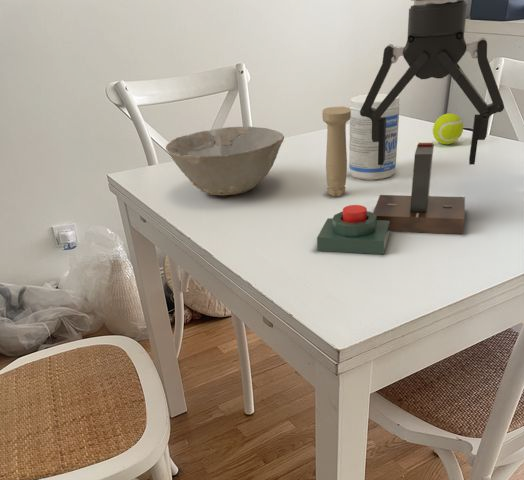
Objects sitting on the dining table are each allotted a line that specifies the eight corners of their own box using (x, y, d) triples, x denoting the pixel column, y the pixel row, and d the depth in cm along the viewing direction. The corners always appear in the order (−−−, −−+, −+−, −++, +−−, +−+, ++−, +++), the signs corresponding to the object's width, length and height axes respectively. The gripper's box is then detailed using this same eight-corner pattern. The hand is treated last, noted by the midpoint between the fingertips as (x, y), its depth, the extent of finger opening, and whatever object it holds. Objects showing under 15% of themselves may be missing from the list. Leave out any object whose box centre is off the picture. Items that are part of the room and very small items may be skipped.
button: (368, 216, 83) (368, 205, 82) (364, 224, 80) (364, 213, 79) (344, 215, 84) (345, 204, 83) (340, 223, 81) (340, 212, 80)
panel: (462, 211, 91) (464, 195, 90) (462, 234, 83) (464, 218, 82) (379, 208, 95) (379, 193, 94) (371, 230, 87) (371, 214, 86)
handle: (347, 188, 106) (348, 105, 97) (350, 198, 100) (352, 113, 92) (322, 189, 106) (321, 107, 98) (324, 200, 101) (324, 115, 92)
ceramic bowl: (307, 190, 106) (306, 137, 101) (203, 219, 98) (195, 163, 92) (252, 167, 123) (248, 120, 117) (158, 190, 114) (149, 141, 108)
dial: (426, 212, 85) (432, 152, 80) (409, 212, 86) (414, 152, 81) (428, 199, 90) (434, 142, 85) (412, 199, 91) (417, 142, 85)
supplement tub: (390, 182, 107) (395, 102, 98) (343, 180, 110) (344, 102, 102) (399, 168, 114) (404, 92, 106) (354, 166, 117) (356, 93, 109)
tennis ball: (460, 140, 128) (464, 110, 125) (462, 147, 123) (466, 116, 119) (431, 140, 130) (434, 110, 126) (431, 148, 125) (434, 117, 121)
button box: (389, 233, 86) (390, 209, 84) (383, 254, 80) (384, 229, 77) (327, 230, 89) (327, 207, 86) (317, 250, 83) (316, 226, 80)
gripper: (537, -10, 71) (510, 154, 83) (350, 7, 79) (349, 156, 91) (543, -7, 66) (513, 169, 77) (340, 11, 73) (341, 169, 85)
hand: (425, 162), depth 84 cm, fingers open, 13 cm apart
